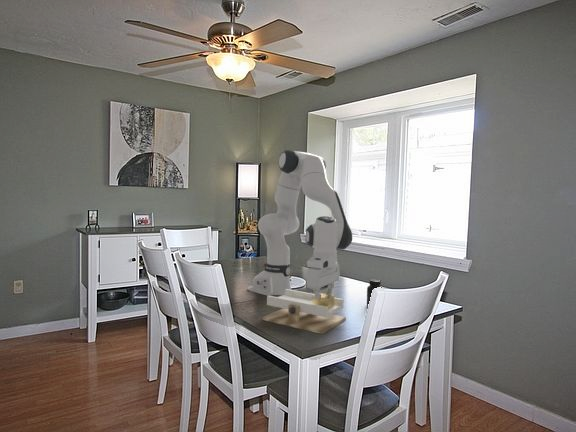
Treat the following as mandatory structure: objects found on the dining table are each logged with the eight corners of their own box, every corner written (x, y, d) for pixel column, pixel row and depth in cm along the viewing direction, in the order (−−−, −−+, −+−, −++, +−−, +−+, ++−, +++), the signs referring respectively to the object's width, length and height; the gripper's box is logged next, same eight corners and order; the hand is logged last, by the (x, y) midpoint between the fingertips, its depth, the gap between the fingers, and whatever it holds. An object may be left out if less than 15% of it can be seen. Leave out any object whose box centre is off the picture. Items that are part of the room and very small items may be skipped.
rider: (312, 306, 150) (313, 296, 150) (320, 303, 155) (320, 293, 155) (327, 309, 147) (327, 298, 147) (334, 305, 152) (334, 295, 152)
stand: (262, 319, 154) (262, 300, 154) (289, 307, 171) (290, 290, 170) (322, 334, 140) (323, 313, 140) (345, 319, 157) (346, 300, 157)
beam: (266, 304, 156) (267, 296, 156) (286, 297, 168) (286, 288, 168) (326, 317, 142) (326, 307, 142) (343, 308, 154) (343, 299, 154)
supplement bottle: (370, 303, 181) (372, 277, 180) (384, 307, 176) (386, 280, 176) (363, 307, 175) (364, 280, 175) (377, 310, 171) (378, 282, 170)
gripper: (329, 255, 160) (328, 289, 161) (304, 262, 143) (303, 300, 144) (344, 257, 157) (342, 292, 158) (319, 264, 140) (318, 303, 140)
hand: (323, 296), depth 151 cm, fingers open, 8 cm apart
